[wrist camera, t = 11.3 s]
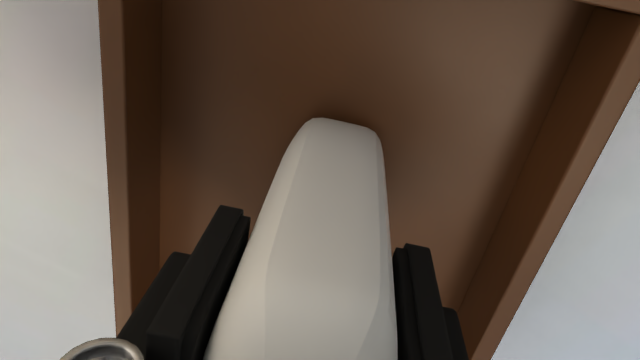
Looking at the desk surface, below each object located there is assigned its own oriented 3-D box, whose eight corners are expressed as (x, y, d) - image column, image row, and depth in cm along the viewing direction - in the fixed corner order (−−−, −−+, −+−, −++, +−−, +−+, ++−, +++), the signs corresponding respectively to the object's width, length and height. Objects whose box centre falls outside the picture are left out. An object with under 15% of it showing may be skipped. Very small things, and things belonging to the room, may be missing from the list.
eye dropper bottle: (438, 181, 14) (697, 1006, 3) (321, 282, 16) (230, 949, 5) (332, 88, 13) (142, 841, 2) (223, 210, 15) (-137, 861, 4)
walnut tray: (157, -113, 12) (89, -135, 9) (610, -19, 12) (690, -10, 9) (155, 308, 19) (117, 371, 16) (436, 366, 19) (448, 440, 16)
